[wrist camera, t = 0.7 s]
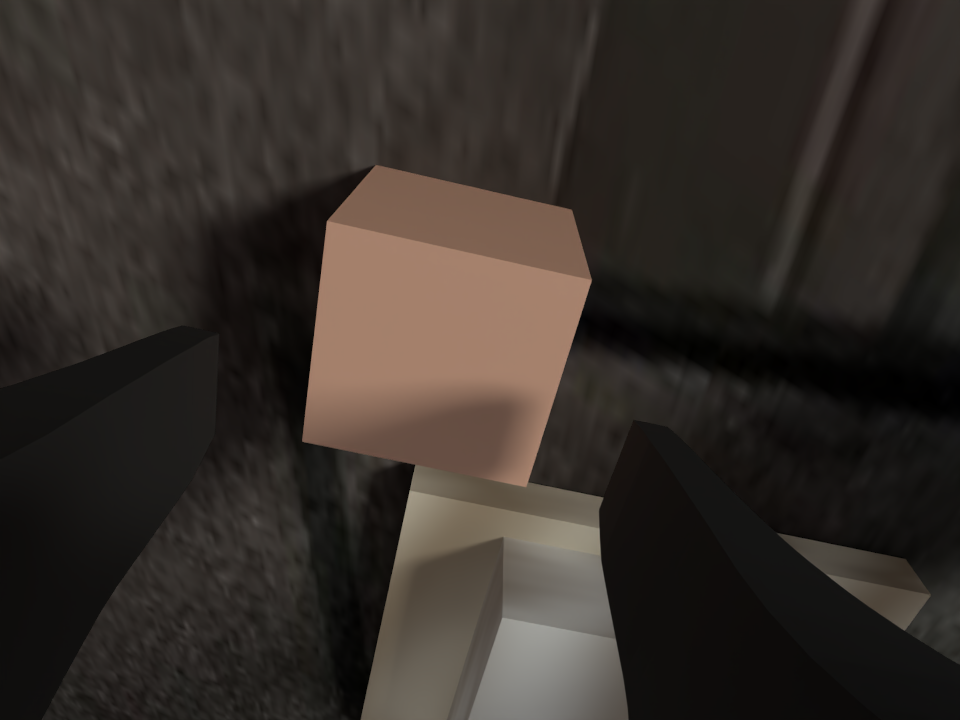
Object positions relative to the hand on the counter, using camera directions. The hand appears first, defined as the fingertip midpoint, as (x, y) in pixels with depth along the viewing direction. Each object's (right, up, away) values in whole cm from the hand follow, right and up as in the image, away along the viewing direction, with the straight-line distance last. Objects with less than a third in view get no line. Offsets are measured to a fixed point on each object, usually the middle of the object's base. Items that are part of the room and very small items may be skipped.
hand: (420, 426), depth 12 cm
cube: (0, +3, +6) cm, 7 cm away
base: (+6, -9, +12) cm, 16 cm away
